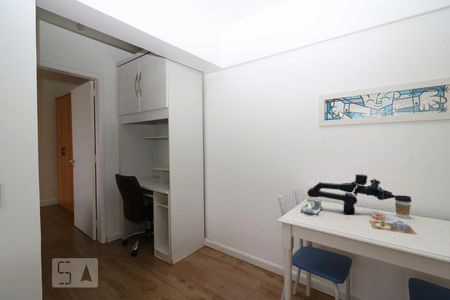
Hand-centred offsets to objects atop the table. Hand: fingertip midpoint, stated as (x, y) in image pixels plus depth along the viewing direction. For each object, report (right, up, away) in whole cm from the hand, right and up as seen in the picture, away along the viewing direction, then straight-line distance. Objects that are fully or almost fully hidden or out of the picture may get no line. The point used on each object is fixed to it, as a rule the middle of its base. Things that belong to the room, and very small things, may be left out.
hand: (393, 194), depth 137 cm
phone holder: (-47, -17, +17) cm, 52 cm away
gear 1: (-11, -16, -2) cm, 20 cm away
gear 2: (-9, -16, -16) cm, 24 cm away
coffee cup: (+7, -16, +2) cm, 18 cm away
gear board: (-13, -17, -14) cm, 26 cm away
